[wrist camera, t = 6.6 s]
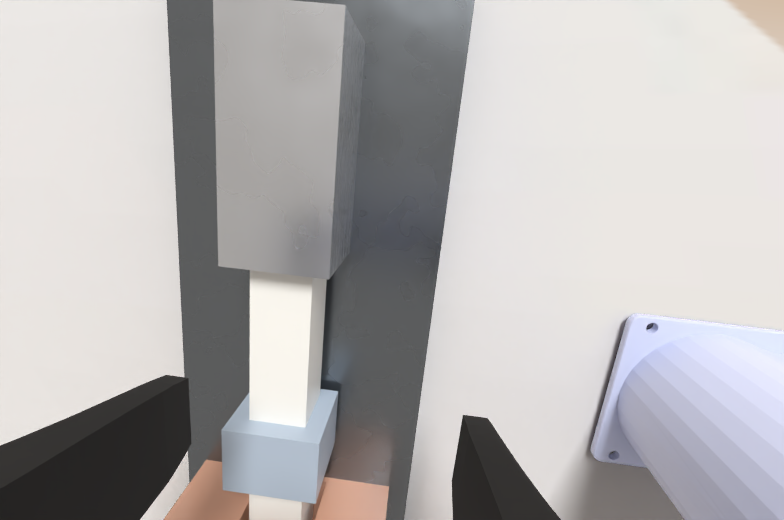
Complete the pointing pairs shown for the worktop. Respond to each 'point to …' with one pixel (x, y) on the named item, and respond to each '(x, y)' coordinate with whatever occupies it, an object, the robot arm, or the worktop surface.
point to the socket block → (231, 509)
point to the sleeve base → (316, 200)
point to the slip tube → (282, 402)
